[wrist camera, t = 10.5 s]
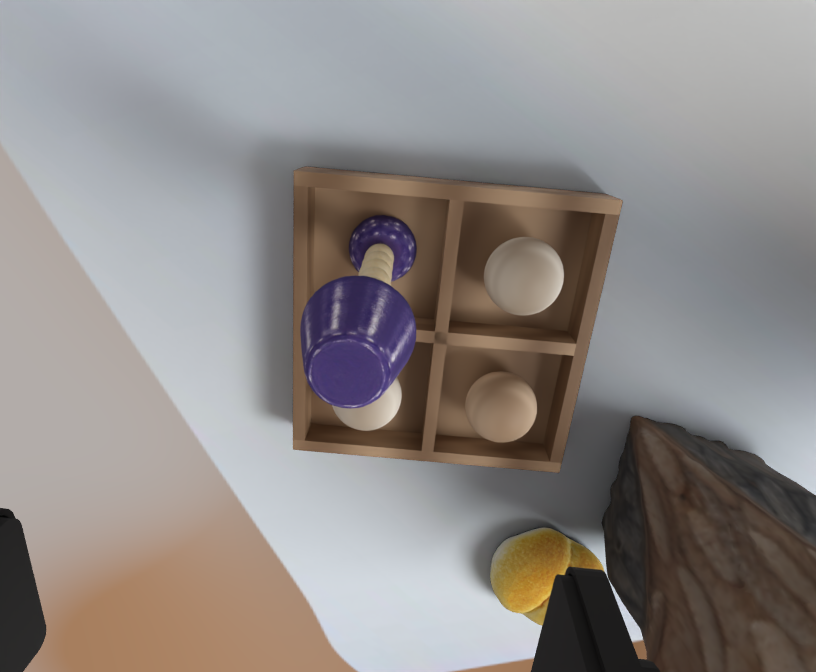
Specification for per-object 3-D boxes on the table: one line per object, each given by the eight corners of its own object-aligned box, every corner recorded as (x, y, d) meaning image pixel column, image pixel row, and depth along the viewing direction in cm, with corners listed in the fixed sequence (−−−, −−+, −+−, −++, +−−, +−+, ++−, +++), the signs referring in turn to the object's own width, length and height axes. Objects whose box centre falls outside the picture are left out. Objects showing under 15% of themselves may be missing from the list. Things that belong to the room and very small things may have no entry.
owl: (790, 459, 39) (1123, 764, 20) (700, 579, 44) (905, 918, 25) (636, 408, 38) (841, 685, 19) (560, 538, 42) (667, 862, 24)
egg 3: (534, 363, 36) (550, 395, 31) (523, 421, 37) (536, 460, 33) (467, 357, 36) (473, 388, 31) (459, 415, 37) (463, 453, 33)
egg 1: (405, 351, 36) (403, 382, 31) (400, 410, 37) (397, 447, 33) (337, 345, 36) (325, 375, 31) (335, 404, 37) (324, 441, 33)
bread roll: (525, 507, 42) (536, 545, 38) (614, 556, 43) (632, 596, 39) (466, 574, 44) (470, 615, 41) (551, 617, 46) (563, 660, 42)
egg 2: (560, 233, 32) (581, 250, 28) (546, 304, 34) (564, 330, 30) (485, 226, 32) (495, 242, 28) (475, 297, 34) (483, 323, 30)
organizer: (605, 193, 32) (623, 200, 29) (549, 447, 39) (559, 472, 36) (304, 166, 32) (293, 170, 29) (302, 426, 39) (292, 449, 36)
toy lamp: (430, 274, 34) (436, 404, 18) (364, 301, 34) (316, 448, 19) (400, 203, 32) (378, 280, 16) (331, 233, 33) (249, 333, 17)
